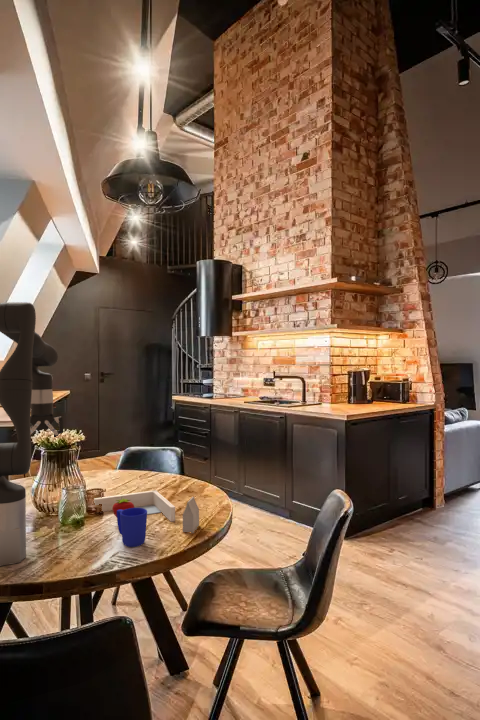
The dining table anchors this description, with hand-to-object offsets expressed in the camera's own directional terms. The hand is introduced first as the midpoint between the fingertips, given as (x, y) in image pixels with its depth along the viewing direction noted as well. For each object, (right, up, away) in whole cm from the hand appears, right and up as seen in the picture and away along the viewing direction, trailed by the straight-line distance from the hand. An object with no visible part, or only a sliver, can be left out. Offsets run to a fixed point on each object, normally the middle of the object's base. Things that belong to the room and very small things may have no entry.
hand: (42, 446), depth 170 cm
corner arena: (+33, -26, 0) cm, 42 cm away
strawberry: (+31, -26, -7) cm, 41 cm away
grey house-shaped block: (+56, -26, -13) cm, 63 cm away
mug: (+38, -26, -24) cm, 52 cm away
